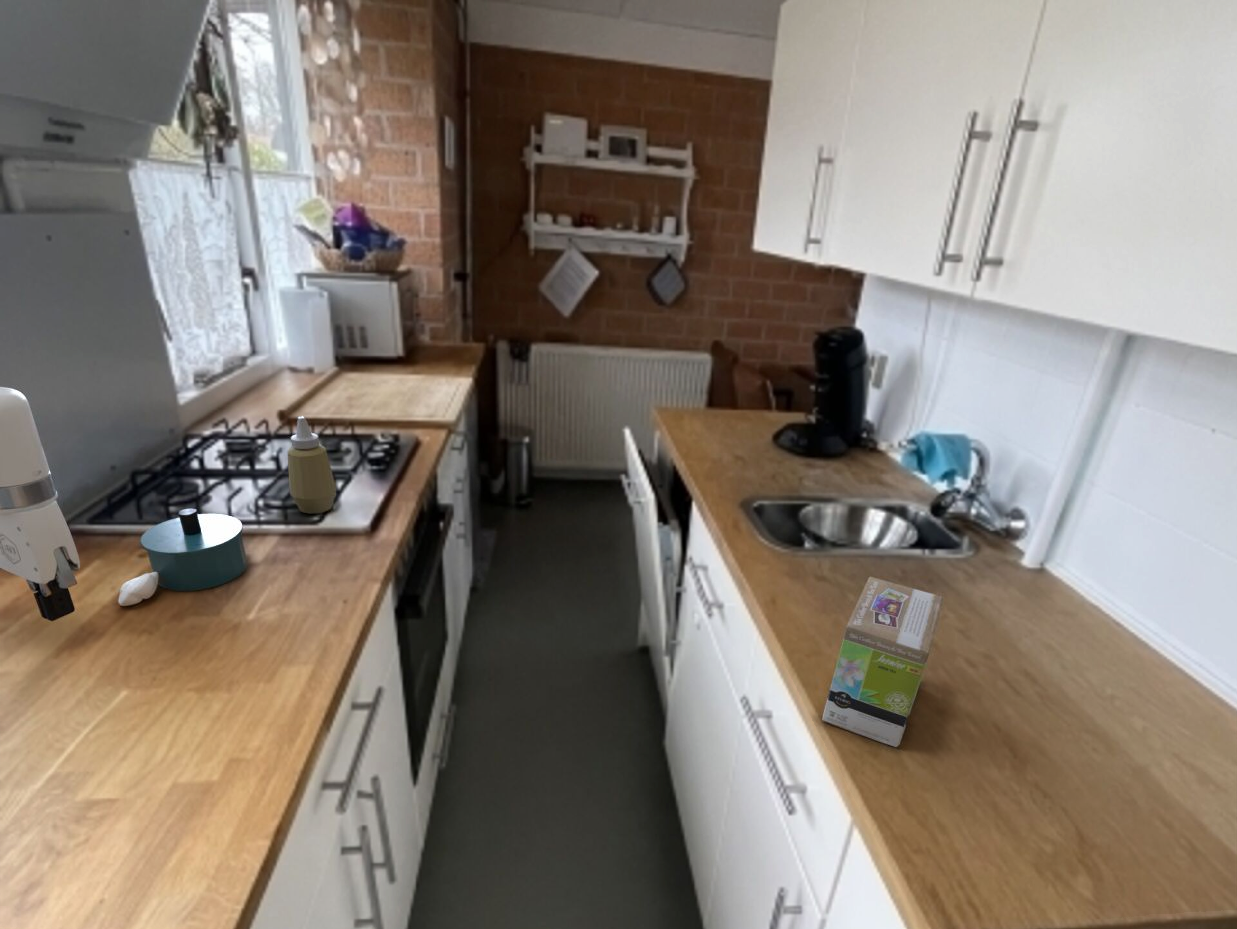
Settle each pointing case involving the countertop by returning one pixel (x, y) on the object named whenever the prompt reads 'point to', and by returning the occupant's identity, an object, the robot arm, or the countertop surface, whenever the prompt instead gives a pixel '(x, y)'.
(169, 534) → the pot lid
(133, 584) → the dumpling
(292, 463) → the squeeze bottle
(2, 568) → the robot arm
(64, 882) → the countertop surface
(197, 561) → the pot
